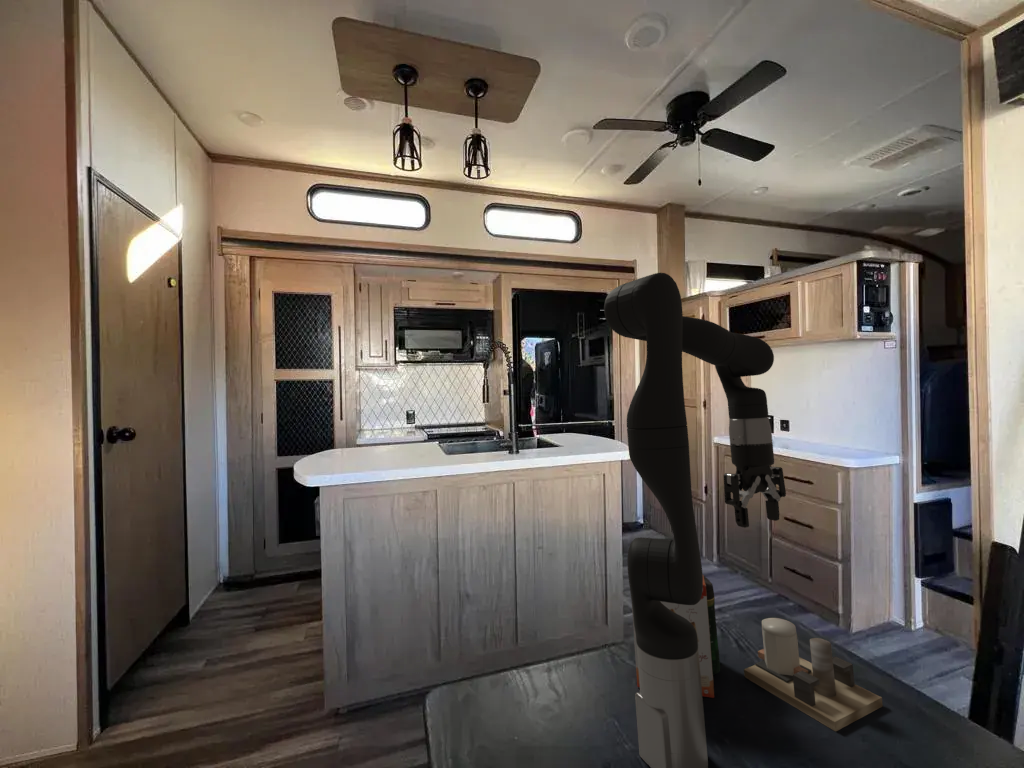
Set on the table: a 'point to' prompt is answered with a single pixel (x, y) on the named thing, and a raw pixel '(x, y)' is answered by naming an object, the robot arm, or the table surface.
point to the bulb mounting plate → (821, 688)
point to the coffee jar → (712, 627)
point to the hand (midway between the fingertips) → (758, 523)
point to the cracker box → (701, 623)
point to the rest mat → (783, 677)
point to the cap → (780, 646)
